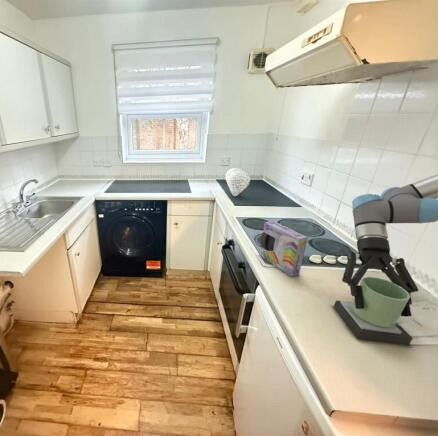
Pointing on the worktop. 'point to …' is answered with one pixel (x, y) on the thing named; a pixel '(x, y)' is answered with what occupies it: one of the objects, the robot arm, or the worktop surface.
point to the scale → (371, 327)
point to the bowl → (381, 302)
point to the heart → (237, 181)
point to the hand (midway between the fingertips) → (382, 312)
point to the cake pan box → (283, 247)
